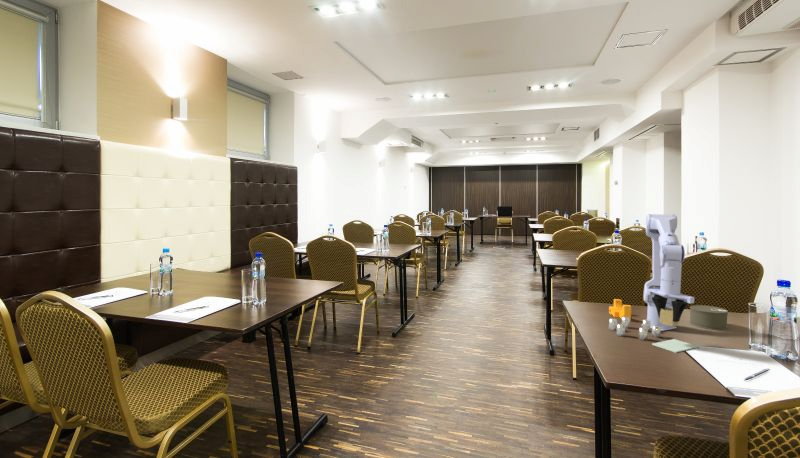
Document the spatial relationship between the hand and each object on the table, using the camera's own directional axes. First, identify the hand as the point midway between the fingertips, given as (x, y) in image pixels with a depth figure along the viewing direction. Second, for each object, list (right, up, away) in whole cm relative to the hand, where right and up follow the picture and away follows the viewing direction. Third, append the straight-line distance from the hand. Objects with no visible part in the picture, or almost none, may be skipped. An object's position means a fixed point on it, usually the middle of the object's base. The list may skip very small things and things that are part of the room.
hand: (668, 319), depth 138 cm
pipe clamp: (+1, -7, +33) cm, 34 cm away
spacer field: (-5, -8, +12) cm, 15 cm away
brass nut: (0, -1, 0) cm, 1 cm away
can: (+30, -8, +22) cm, 38 cm away
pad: (+1, -9, -2) cm, 9 cm away
